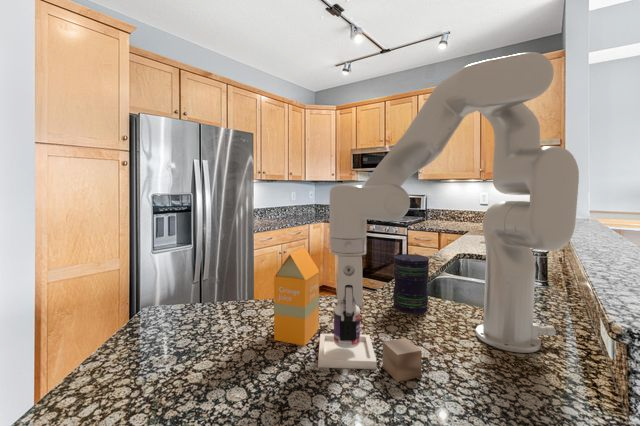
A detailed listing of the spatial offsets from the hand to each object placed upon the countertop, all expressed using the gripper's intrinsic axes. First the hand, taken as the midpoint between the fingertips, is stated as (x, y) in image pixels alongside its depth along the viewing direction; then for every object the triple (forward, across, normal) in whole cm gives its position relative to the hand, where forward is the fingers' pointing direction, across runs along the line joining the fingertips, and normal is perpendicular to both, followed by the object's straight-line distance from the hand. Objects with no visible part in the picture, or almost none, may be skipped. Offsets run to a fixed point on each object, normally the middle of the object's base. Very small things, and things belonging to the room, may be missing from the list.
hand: (347, 331), depth 63 cm
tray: (+4, 0, 0) cm, 4 cm away
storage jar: (+5, +27, -20) cm, 34 cm away
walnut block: (+5, -6, -10) cm, 12 cm away
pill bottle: (+2, 0, 0) cm, 2 cm away
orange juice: (+5, +8, +11) cm, 15 cm away
